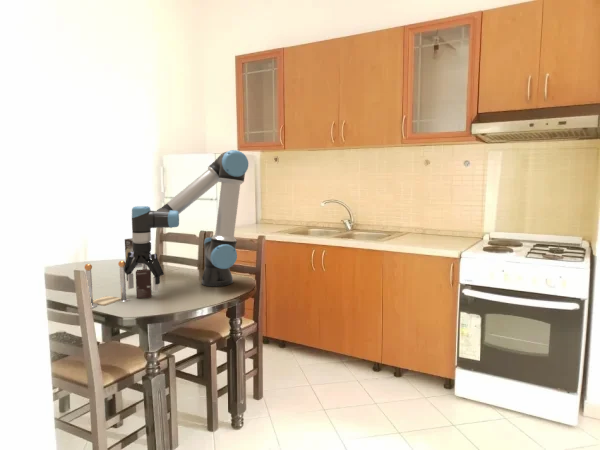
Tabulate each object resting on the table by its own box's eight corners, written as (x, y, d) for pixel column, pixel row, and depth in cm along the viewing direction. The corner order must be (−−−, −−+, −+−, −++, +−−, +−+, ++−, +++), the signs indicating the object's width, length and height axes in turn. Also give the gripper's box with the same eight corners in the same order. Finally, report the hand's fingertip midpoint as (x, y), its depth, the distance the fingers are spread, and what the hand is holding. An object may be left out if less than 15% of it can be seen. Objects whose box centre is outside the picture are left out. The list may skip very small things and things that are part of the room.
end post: (100, 305, 179) (97, 263, 177) (90, 309, 174) (87, 265, 172) (90, 304, 181) (88, 262, 179) (80, 307, 176) (78, 264, 174)
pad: (122, 299, 188) (122, 297, 188) (104, 305, 179) (104, 304, 179) (106, 297, 191) (106, 295, 191) (88, 303, 182) (87, 302, 182)
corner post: (132, 300, 188) (130, 259, 186) (124, 303, 184) (122, 262, 182) (123, 299, 190) (121, 259, 188) (114, 302, 185) (112, 261, 183)
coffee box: (125, 265, 258) (123, 239, 256) (135, 264, 263) (134, 237, 261) (132, 267, 252) (131, 240, 250) (143, 266, 257) (142, 239, 255)
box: (136, 299, 189) (135, 271, 187) (137, 296, 193) (136, 269, 192) (151, 298, 190) (149, 270, 189) (152, 295, 194) (151, 268, 193)
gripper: (171, 242, 188) (172, 290, 190) (125, 239, 196) (126, 285, 199) (160, 245, 181) (161, 294, 183) (112, 241, 189) (114, 289, 192)
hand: (143, 290), depth 191 cm, fingers open, 13 cm apart
